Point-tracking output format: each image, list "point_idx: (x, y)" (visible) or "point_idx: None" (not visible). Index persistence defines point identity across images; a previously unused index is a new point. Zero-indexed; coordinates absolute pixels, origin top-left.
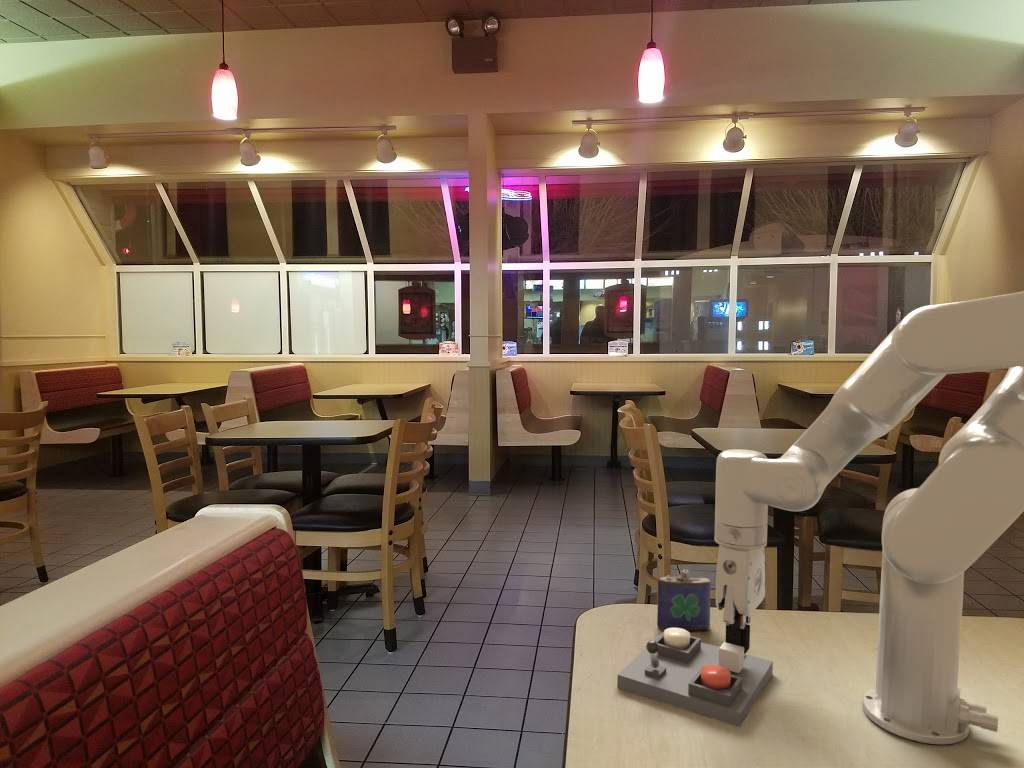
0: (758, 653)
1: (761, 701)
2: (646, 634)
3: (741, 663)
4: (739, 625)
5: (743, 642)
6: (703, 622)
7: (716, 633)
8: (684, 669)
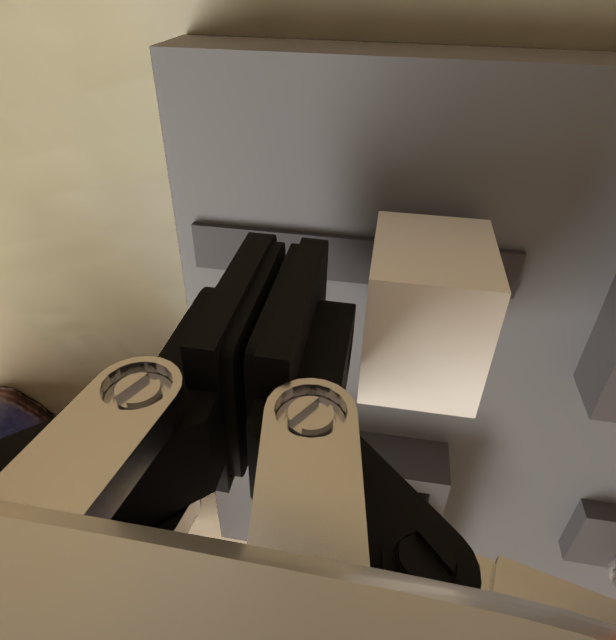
0: (19, 165)
1: (580, 13)
2: (206, 533)
3: (433, 234)
4: (369, 457)
5: (314, 300)
6: (10, 430)
7: (6, 360)
8: (520, 446)
